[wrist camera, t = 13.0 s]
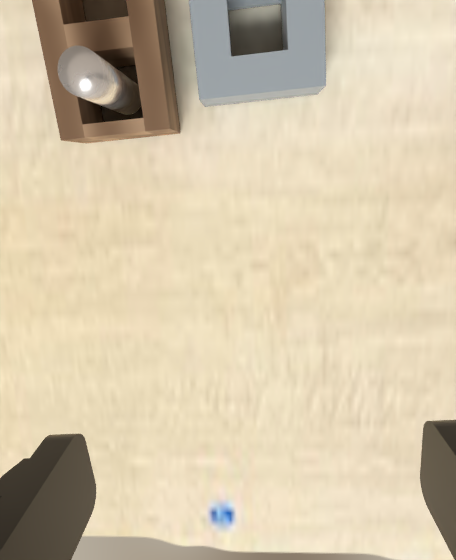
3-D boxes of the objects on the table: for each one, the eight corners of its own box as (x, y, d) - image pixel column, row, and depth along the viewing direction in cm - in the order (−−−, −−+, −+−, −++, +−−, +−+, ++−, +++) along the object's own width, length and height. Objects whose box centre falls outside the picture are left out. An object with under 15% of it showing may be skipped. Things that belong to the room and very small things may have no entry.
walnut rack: (158, -50, 31) (142, -88, 26) (180, 133, 35) (169, 128, 30) (52, -35, 32) (17, -69, 27) (85, 143, 36) (61, 140, 31)
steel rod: (139, 76, 34) (98, 42, 24) (145, 113, 35) (106, 94, 25) (107, 80, 34) (52, 48, 25) (113, 116, 35) (63, 99, 26)
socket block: (313, -41, 31) (323, -70, 27) (317, 94, 34) (326, 85, 30) (191, -25, 32) (183, -51, 28) (204, 106, 34) (199, 99, 31)
